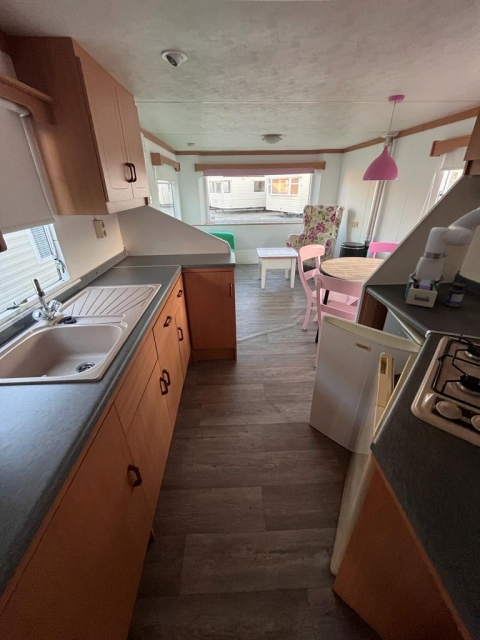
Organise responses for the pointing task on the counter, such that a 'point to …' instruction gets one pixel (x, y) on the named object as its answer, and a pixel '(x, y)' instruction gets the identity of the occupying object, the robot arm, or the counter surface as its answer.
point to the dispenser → (415, 283)
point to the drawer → (421, 296)
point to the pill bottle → (455, 295)
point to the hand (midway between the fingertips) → (422, 291)
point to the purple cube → (424, 286)
